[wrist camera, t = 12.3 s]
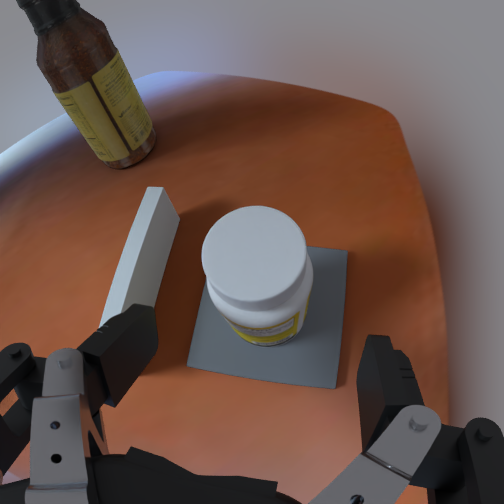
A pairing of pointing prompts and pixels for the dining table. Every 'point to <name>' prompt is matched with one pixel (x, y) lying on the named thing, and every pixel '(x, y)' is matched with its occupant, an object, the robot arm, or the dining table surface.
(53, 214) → the dining table surface
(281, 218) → the supplement bottle
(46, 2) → the sauce bottle
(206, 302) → the coaster
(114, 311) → the wall
